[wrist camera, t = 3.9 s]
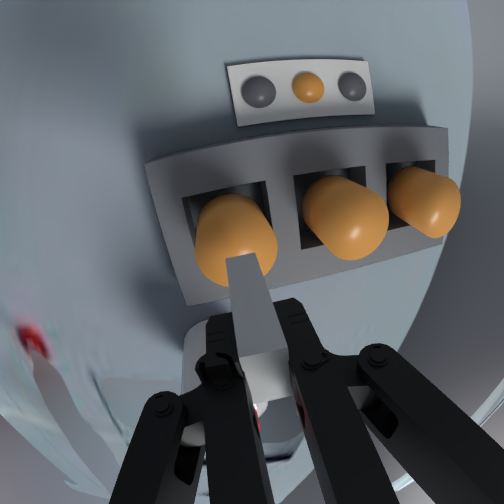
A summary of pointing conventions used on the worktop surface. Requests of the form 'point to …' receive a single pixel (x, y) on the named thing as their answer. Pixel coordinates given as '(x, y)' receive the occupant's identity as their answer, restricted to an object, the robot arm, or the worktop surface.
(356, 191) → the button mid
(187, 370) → the pill bottle
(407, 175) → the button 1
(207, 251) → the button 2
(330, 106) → the pattern card
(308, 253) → the board
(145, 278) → the worktop surface
